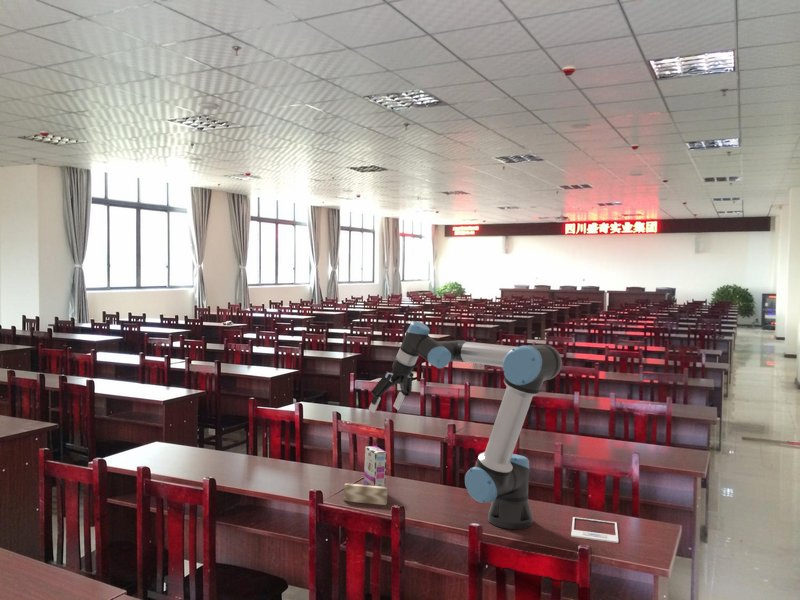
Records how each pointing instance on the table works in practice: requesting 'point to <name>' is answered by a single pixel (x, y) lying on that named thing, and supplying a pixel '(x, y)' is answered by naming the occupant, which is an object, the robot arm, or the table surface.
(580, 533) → the photo frame
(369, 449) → the candy bar box
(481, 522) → the table surface
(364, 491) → the board
